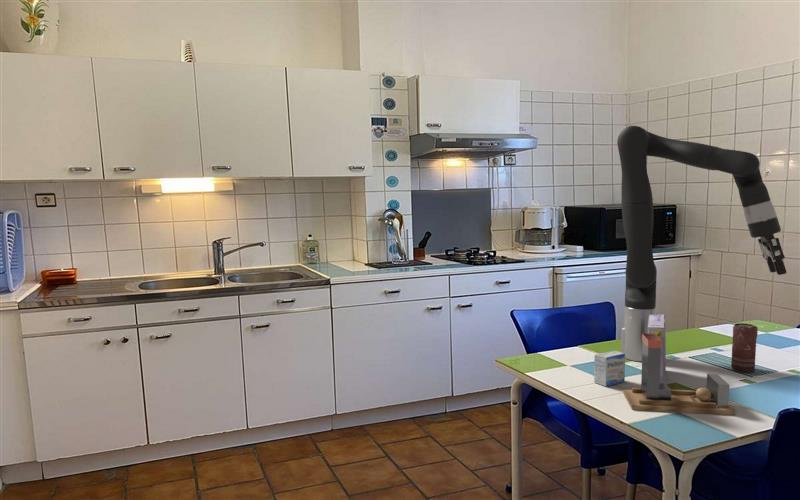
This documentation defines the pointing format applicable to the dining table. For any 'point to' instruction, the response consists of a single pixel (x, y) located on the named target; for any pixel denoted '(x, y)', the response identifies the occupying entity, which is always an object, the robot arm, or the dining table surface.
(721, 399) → the grey stop block
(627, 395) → the board
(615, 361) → the medicine box
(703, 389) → the walnut
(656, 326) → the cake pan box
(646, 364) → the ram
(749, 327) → the can
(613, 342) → the dining table surface
